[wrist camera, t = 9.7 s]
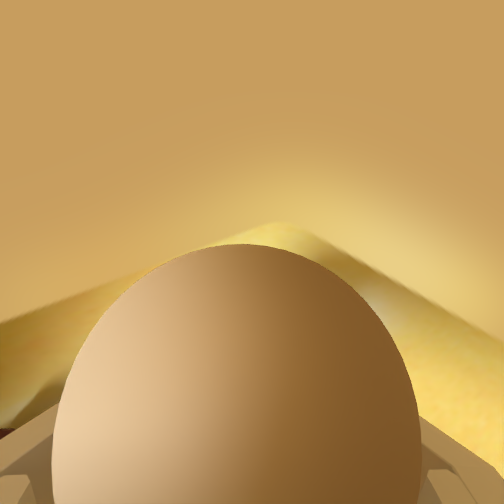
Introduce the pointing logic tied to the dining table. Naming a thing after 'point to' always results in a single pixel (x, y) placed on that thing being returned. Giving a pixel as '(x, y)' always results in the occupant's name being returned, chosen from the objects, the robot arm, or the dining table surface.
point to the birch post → (238, 391)
